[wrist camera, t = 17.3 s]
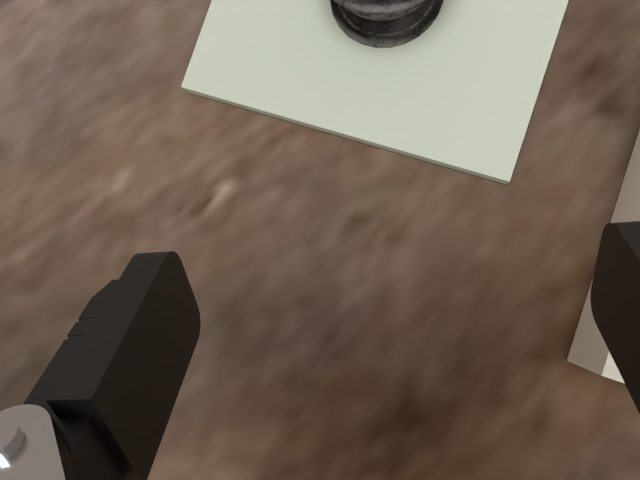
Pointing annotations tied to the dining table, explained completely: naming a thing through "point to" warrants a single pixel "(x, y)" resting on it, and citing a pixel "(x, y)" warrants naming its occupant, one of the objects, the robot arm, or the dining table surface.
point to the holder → (588, 345)
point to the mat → (387, 76)
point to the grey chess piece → (385, 20)
